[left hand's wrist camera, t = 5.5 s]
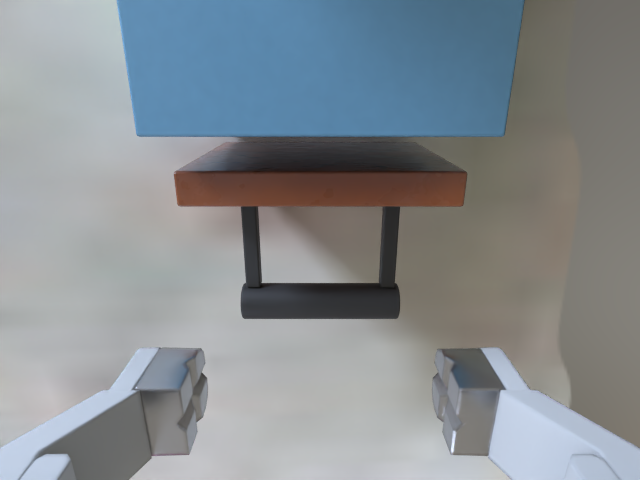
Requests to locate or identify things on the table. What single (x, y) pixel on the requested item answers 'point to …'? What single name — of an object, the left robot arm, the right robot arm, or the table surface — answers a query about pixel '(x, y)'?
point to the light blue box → (320, 67)
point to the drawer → (320, 190)
